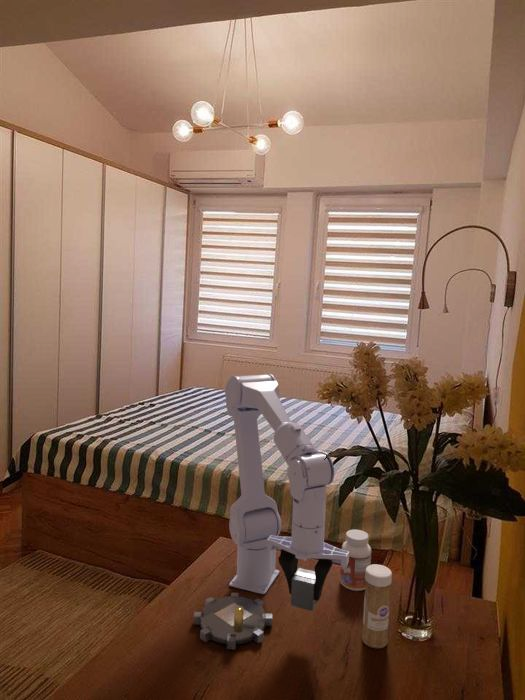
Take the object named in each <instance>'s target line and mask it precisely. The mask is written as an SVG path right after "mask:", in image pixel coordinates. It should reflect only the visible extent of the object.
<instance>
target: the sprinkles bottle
mask: <svg viewBox="0 0 525 700" xmlns="http://www.w3.org/2000/svg"><path fill="white" fill-rule="evenodd" d="M392 577H393V573H392V570H391V569H390V568H388V567H387V566H385V565H383V564H376V563H375V564H373V563H372V564H371V565H369V566H368V567H367V568H366V571H365V581H366V587H365V589H364V595H363V596H364V600H363V618H362V623H363V625H362V635H361V641H362V642H363V643H364V644H365V645H366V646H368V647H369V648H373V649H383V648H385V647H386V646H387V644H388V629H389V619H390V599H391V598H390V597H391V596H390V594H391V584H392V582H393V581H392V579H393V578H392Z"/></svg>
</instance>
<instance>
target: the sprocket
mask: <svg viewBox="0 0 525 700" xmlns="http://www.w3.org/2000/svg"><path fill="white" fill-rule="evenodd" d="M230 594H231V595H230V596H223V597H219V598H216V599H215V598H213V597H212V596H211V597H209V598H206V599H205V601H204V603H205V604H204V605H205V606H204V607H203V608H202V610H201V611H194V614H193V625H200V631H199V639H200V640H201V641H202V642H204V643H207V642H208V641H210V640H212V641H214V642H216V643H219V644H223V645H226V649H227V650H236V645H242V644H246V643H250V642H252V641H254V642H255V643H257V644H260V643H261V642H262V641H264V637H265V628H266V627H273V613H266V611H265V609H264V600H262V599H261V598H259V597H257V598H255V599H254V600H253V599H250V598H247V597H244V596H239V592H231V593H230Z"/></svg>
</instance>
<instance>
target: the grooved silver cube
mask: <svg viewBox="0 0 525 700" xmlns="http://www.w3.org/2000/svg"><path fill="white" fill-rule="evenodd" d="M314 594H315V570H310V569H306V568H301V567H297V571H296V572H295V574H294V576H293V578H292V588H291V594H290V606H291V607H295V608H299V609H302V610H307V611H311V612H314V610H315V607H316V606H317V604H318V602H319V601H316V600H315V595H314Z"/></svg>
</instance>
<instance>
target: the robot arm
mask: <svg viewBox="0 0 525 700" xmlns="http://www.w3.org/2000/svg"><path fill="white" fill-rule="evenodd" d="M224 387H225V388H224V395H225V404H226V405H225V406H226V410H227V416H229V417H231V418H233V423H234V424H233V425H234V435H235V443H236V456H237V464H238V474H239V483H240V494H241V495H240V497H238V498H237V500H236V501H234V503H233V504H232V505H231V506H230V508H229V521H228V522H229V523H228V526H229V527H228V528H229V533H230V534H229V535H230V536H231V539H232V541H233V542H234V543H235V544H236V545H237V551H236V552H237V557H236V575H234V577H233V579H232V580H231V581H230V582H229V586H230V587H233V588H237V589H241V590H245V591H249V592H251V593H256V594H260V595H265V594H266V593H267V592H268V590H269V589H270V587H271V586H272V584H273V582H275V580H276V579H277V577H278V575H280V570H278V569H276V564H277V563H276V560H277V559H276V558H277V556H276V555H277V551H280V555H279V556H278V563H279V565H280V567H281V569H282V571H283V574H284V576H285V579H286V582H287V587H288V591H289V595H291V588H292V578H293V576H294V574H295V572H296V571H297V570H298V564H299V560H301V561H307V560H308V559H317V560H318V561H317V562H316V564H315V566H314V571H315V594H314V595H315V600H316V601H318V602H319V601H320V599H321V596H322V594H323V593H322V592H323V588H324V585H325V581H326V579H327V576H328V574H329V572H330V571H331V569H332V566H333V565H334V563H335V564H338V565H339V564H340V567H341V566H343V567H347V565H348V562H349V551H345V550H342V548H338V547H336V546H333V545H332V544H329V543H327V542H325V528H326V527H325V525H326V509H327V486H330V485H331V484H332V483H333V481H334V479H335V467H334V466H335V465H334V463H333V460H332V458H331V457H330V455H329V453H327V452H326V451H322V450H321V449H320V448H319V447H318V448H316V447H315V445H314V444H313V443H312V441H311V440H310V438H309V436H308V434H306V432H305V430H304V429H303V427H302V426H301V425H300V424H299V423H297V422H292V421H291V419H290V417H289V415H288V413H287V411H286V409H285V408H284V405H283V403H282V401H281V400H280V397H279V396H280V385H279V383H278V381H277V379H276V377H275V376H274V375H273V374H272V373H265V374H252V375H231V376H230V377H228V379H227V382H226V384H225V386H224ZM261 415H262V416H263V417H264V419H265V420H266V422H267V423H268V424H269V426H270V427H271V428H272V430H273V431H274V434H273V435H274V436H273V442H274V444H275V446H276V447H277V449H278V452H279V453H280V454H281V456H282V458H283V459H284V461H285V463H286V465H287V468H286V472H287V473H286V474H287V478H288V482H289V492H290V496H291V497H292V517H291V536H281V535H280V534H281V530H282V519H281V516H280V513H279V510H278V505H277V501H275V500H274V499H273V498H272V497H270V496H268V495H267V494H266V490H265V482H264V472H263V471H264V470H263V465H262V463H263V462H262V453H261V444H260V436H259V435H260V434H259V426H258V419H259V418H260V416H261ZM328 455H329V456H328ZM327 456H328V458H326V457H327ZM325 458H326V459H325ZM324 459H325V460H324Z"/></svg>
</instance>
